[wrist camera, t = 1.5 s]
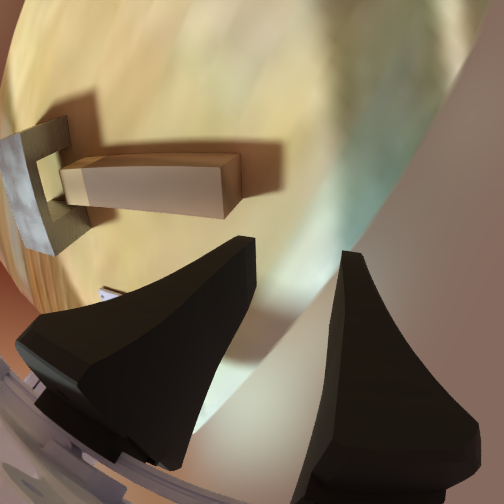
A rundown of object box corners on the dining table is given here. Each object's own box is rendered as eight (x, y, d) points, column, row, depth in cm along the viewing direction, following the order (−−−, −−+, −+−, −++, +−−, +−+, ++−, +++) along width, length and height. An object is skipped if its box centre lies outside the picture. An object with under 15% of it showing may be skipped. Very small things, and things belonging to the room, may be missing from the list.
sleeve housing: (91, 228, 25) (55, 256, 21) (57, 223, 27) (25, 247, 23) (66, 115, 19) (19, 132, 15) (34, 125, 21) (-6, 142, 17)
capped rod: (242, 198, 19) (224, 219, 16) (91, 189, 23) (67, 204, 20) (240, 153, 17) (220, 167, 15) (84, 157, 21) (58, 169, 19)
